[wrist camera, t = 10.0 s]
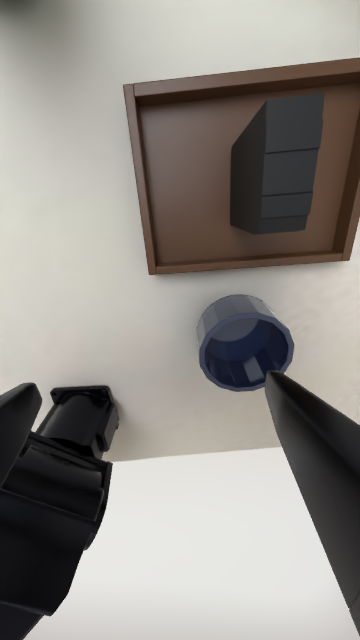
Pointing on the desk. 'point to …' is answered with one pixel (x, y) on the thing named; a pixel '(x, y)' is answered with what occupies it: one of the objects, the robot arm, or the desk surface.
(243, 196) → the ink cartridge
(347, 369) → the desk surface
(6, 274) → the desk surface
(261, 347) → the cup
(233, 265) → the tray
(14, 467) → the robot arm
